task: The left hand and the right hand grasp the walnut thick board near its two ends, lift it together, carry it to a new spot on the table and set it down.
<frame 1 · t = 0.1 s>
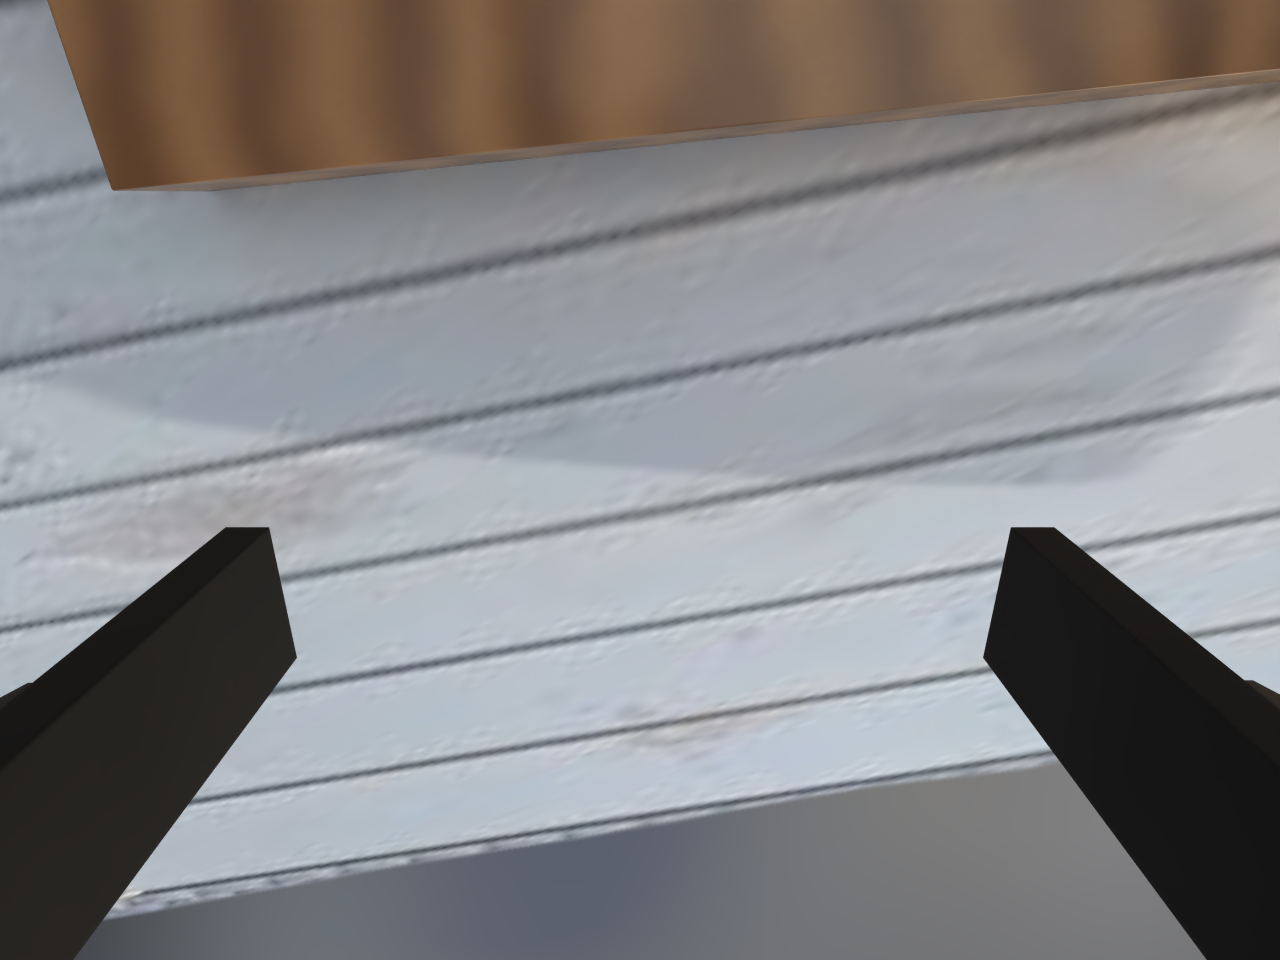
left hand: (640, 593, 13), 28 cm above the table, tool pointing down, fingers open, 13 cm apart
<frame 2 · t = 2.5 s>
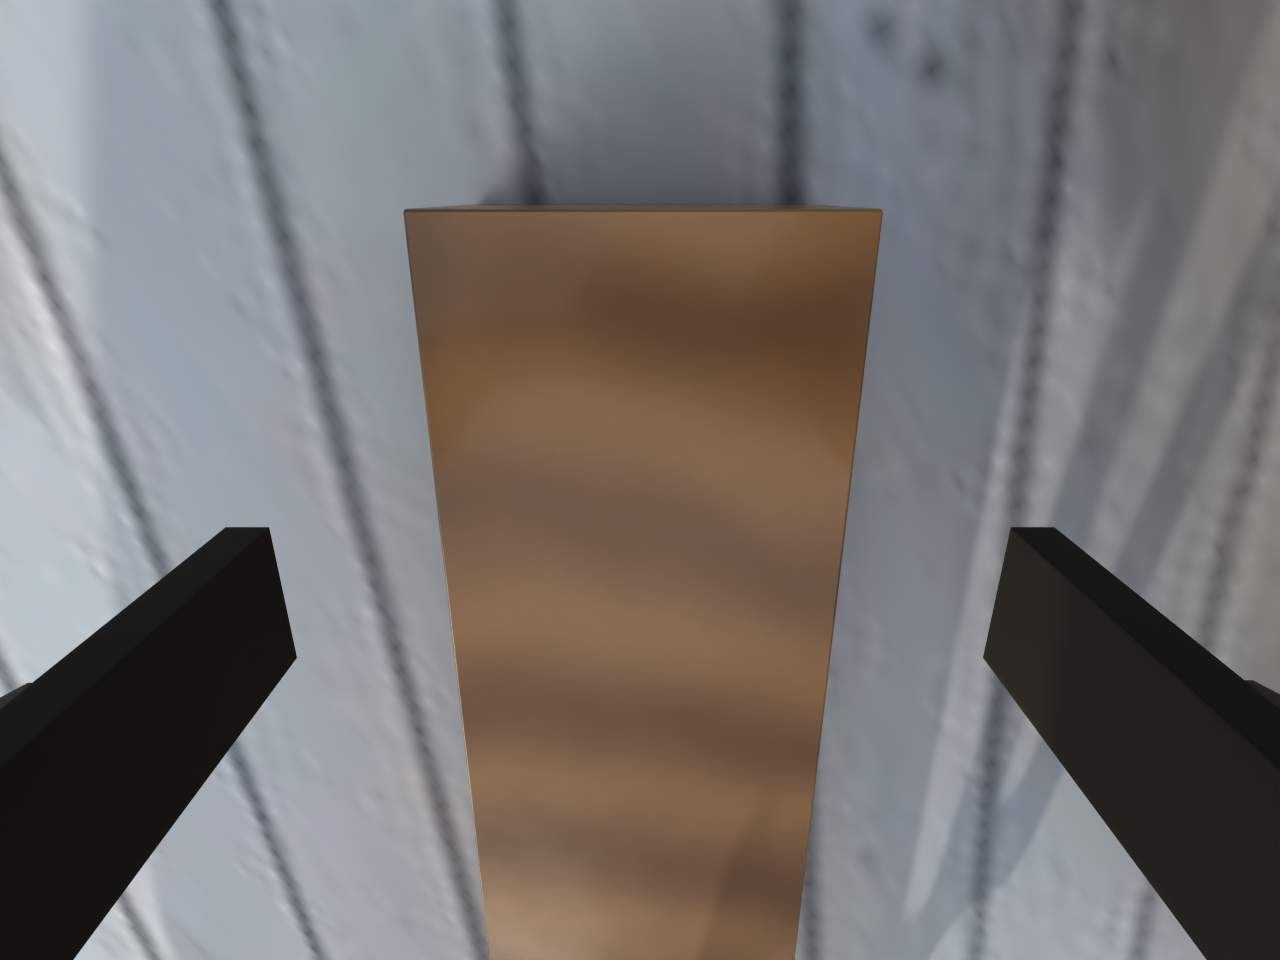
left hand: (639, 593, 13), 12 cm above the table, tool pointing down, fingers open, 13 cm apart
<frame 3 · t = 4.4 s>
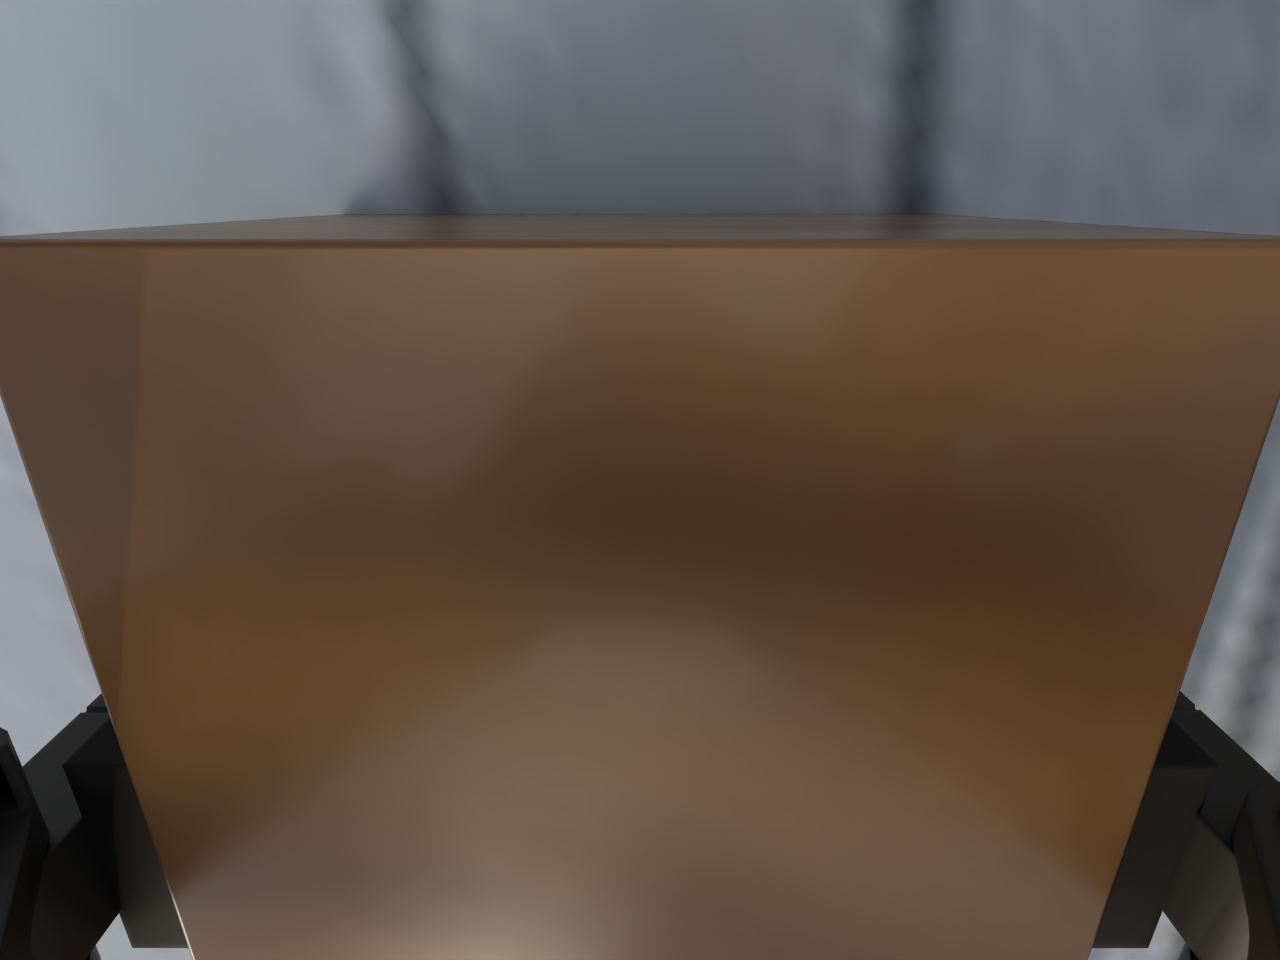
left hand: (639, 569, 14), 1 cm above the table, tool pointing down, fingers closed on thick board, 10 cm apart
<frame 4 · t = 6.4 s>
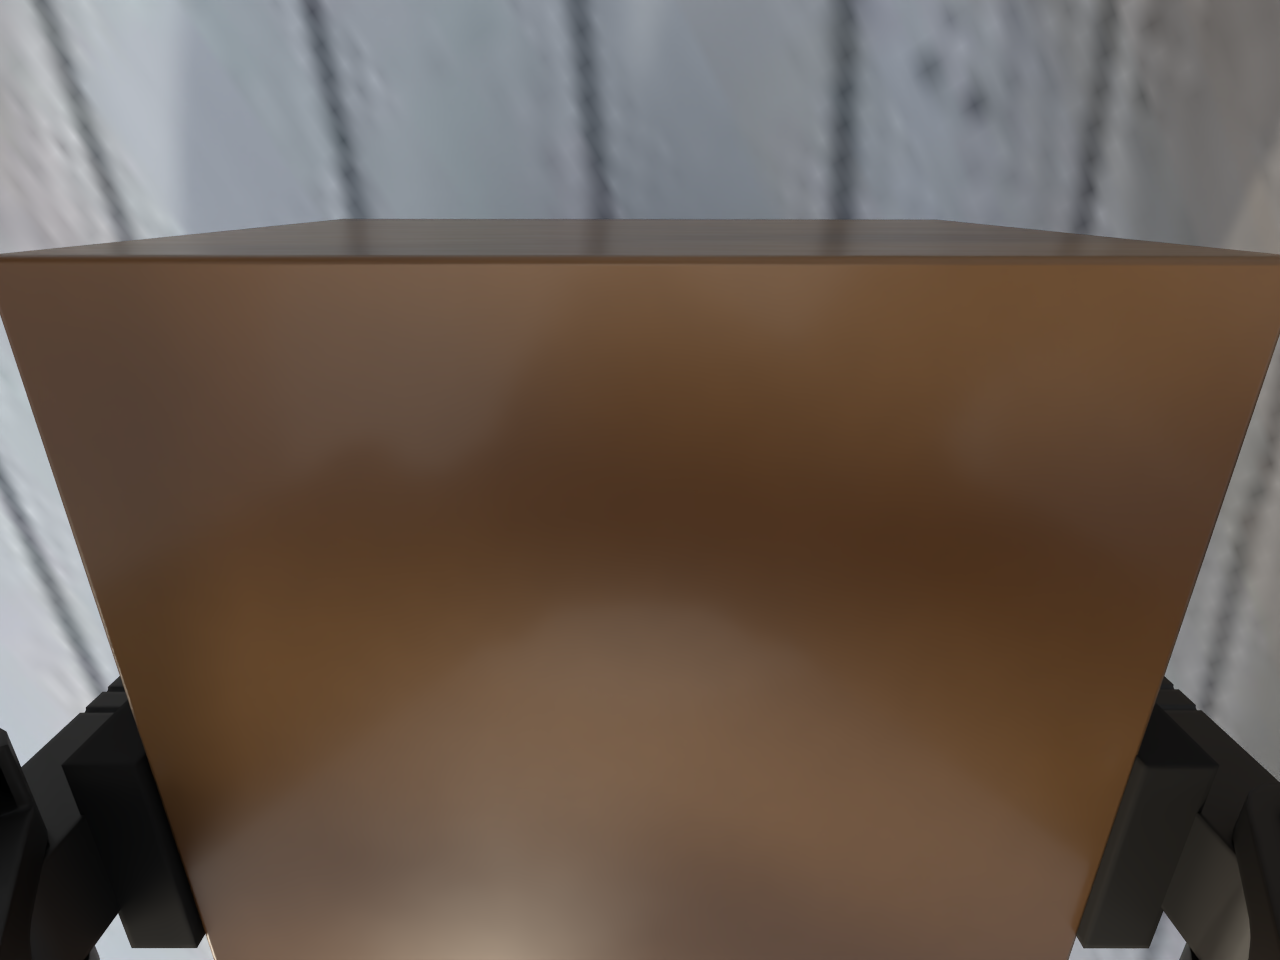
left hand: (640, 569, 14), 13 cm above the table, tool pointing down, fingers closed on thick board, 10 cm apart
when the left hand's fingers open (2 cm above the table, at t = 10.3 s): thick board drops 1 cm, on the table.
when the right hand's fingers open (2 cm above the table, at t = 10.3 s): thick board drops 1 cm, on the table.
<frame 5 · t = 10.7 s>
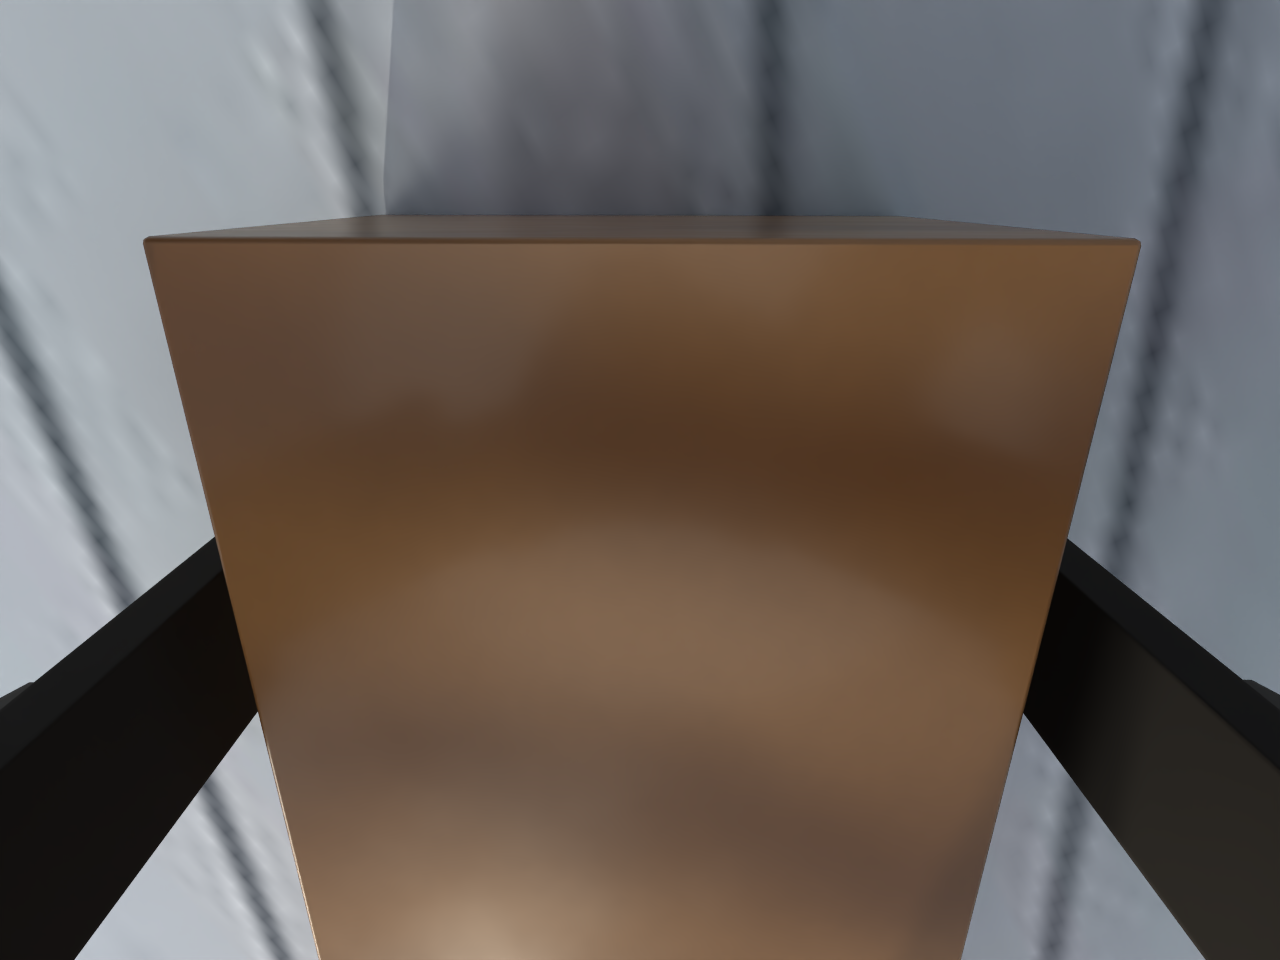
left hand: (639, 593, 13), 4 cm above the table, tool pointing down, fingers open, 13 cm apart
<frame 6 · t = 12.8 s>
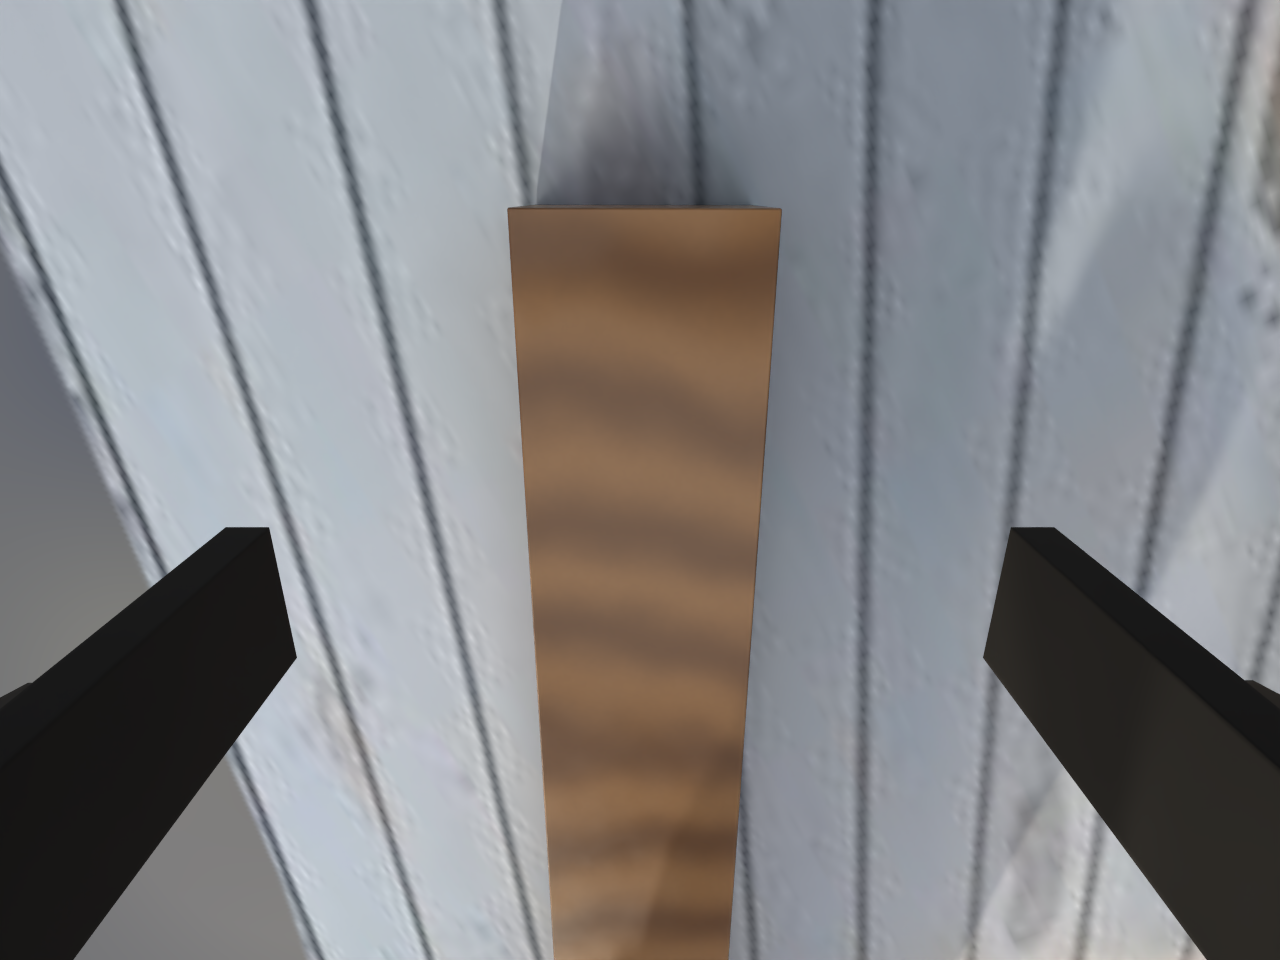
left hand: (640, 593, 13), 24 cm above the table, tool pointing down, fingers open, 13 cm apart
thick board: (641, 812, 47), on the table
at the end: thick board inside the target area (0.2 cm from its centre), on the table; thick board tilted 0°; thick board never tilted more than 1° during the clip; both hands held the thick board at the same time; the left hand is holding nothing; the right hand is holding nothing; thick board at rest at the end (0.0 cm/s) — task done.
